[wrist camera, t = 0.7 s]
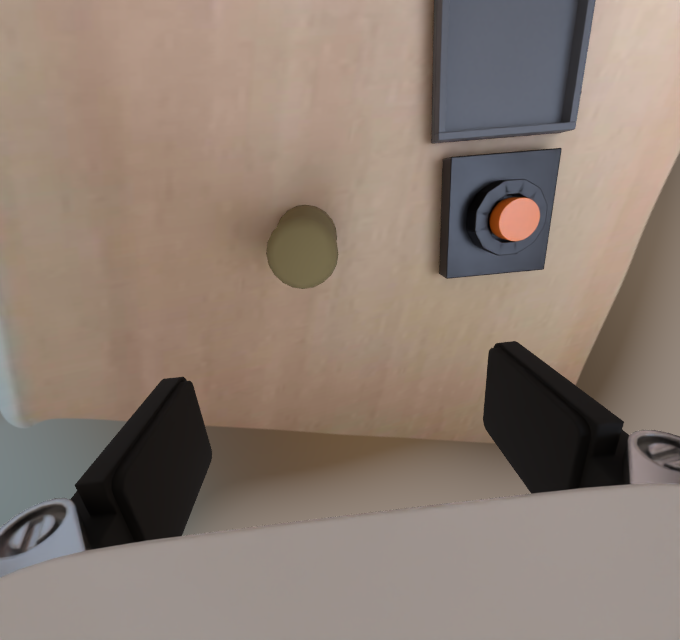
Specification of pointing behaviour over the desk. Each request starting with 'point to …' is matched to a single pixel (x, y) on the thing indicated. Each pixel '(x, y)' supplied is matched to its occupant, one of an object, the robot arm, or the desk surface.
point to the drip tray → (507, 67)
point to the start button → (514, 218)
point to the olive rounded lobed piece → (303, 247)
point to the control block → (480, 199)
